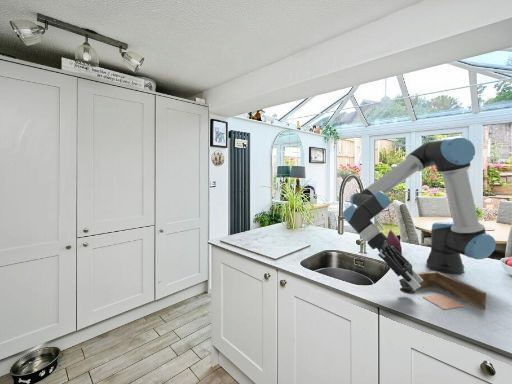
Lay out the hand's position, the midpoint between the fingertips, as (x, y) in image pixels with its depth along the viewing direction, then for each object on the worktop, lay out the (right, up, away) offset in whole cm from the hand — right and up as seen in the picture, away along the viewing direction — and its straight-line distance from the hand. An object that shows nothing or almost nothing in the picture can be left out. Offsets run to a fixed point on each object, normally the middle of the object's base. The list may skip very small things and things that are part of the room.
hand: (418, 284), depth 95 cm
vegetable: (+20, -1, +55) cm, 59 cm away
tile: (+8, -6, -1) cm, 10 cm away
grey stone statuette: (-3, -3, +3) cm, 5 cm away
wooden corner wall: (+12, -6, +2) cm, 13 cm away
